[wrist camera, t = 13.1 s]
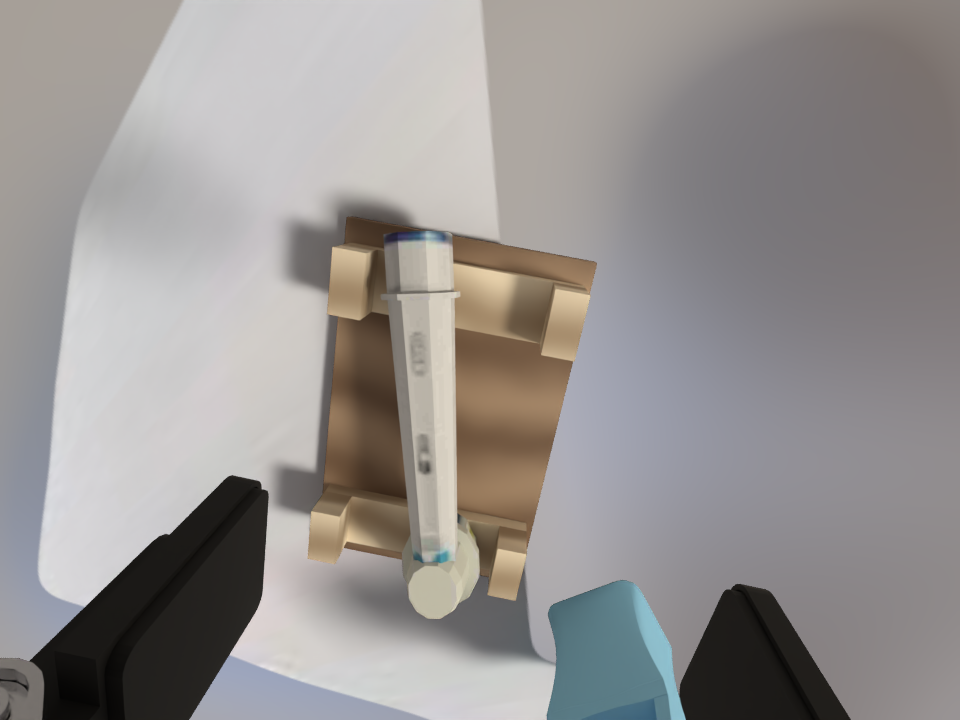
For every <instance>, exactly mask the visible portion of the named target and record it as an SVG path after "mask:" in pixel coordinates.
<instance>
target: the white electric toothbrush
mask: <svg viewBox="0 0 960 720" xmlns="http://www.w3.org/2000/svg"><path fill="white" fill-rule="evenodd" d="M383 235H384V252H385V268H386V285H387V293H386V294H381V300H387V301H388V311H389V321H390V331H391V341H392V351H393V361H394V371H395V381H396V391H397V401H398V411H399V421H400V431H401V441H402V451H403V461H404V471H405V481H406V491H407V501H408V511H409V521H410V531H411V534H410V536H409V539H408V541H407V543H406V545H405V547H404V550H403V552H402V564H403V576H404V578H405V580H406V582H407V592H408V597H409V600H410V601H411V603H412V605H413V607H414V608H415V610H416V612H418V613H420V614H421V615H423V616H424V617H426V618H427V619H441V618H442V617H444V616H446V615H447V614H449V613H451V612H452V611H453V610H455V609H456V607H457V605H458V604H459V603H460V602H462V601H464V600H465V599H467V598H468V597H470V595H471V593H472V591H473V589H474V586H475V584H476V582H477V580H478V578H479V573H480V566H479V549H478V547H477V536H475V535H474V534H473V532H472V530H471V528H470V526H469V524H468V523H467V521H468V520H467V519H466V518H464V517H463V516H461V515H460V514H458V513H457V456H456V376H455V298H458V297H460V291H454V270H453V244H452V234H451V233H449V232H440V231H410V232H395V233H389V234H383Z"/></svg>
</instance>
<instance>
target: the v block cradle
mask: <svg viewBox="0 0 960 720" xmlns="http://www.w3.org/2000/svg"><path fill="white" fill-rule="evenodd" d="M410 231H427V230H421V229H416V228H411V227H405V226H400V225H394V224H389V223H384V222H378V221H373V220H368V219H362V218H357V217H347V220H346V231H345V243H344V244H343V245H339V246H335V247H332V259H331V272H330V284H329V297H328V309H327V314H329V315H334V316H338V323H337V334H336V346H335V357H334V369H333V380H332V392H331V403H330V415H329V426H328V438H327V449H326V461H325V472H324V484H323V495H322V496H321V498H320V499H319V501H318V502H317V504H316V505H315V507H314V508H313V509H312V511H311V522H310V534H309V547H308V559H312V560H317V561H322V562H327V563H332V564H335V563H336V561H337V559H338V557H339V556H340V554H341V552H342V550H343V548H347V549H352V550H357V551H362V552H367V553H372V554H377V555H382V556H387V557H392V558H397V559H402V552H403V550H404V547H405V545H406V543H407V541H408V539H409V536H410V534H411V531H410V521H409V511H408V501H407V491H406V481H405V471H404V461H403V451H402V441H401V431H400V421H399V411H398V401H397V391H396V381H395V371H394V361H393V351H392V341H391V331H390V321H389V311H388V301H387V300H381V294H386V293H387V285H386V268H385V252H384V235H383V234H389V233H395V232H410ZM452 244H453V270H454V291H460V297H458V298H455V376H456V456H457V513H458V514H460V515H461V516H463V517H464V518H466V519H467V520H468V521H467V523H468V524H469V526H470V528H471V530H472V532H473V534H474V535H475V536H477V547H478V549H479V566H480V573H479V575H481V576H486V577H489V583H488V594H487V595H489V596H494V597H499V598H504V599H509V600H514V601H515V600H516V596H517V592H518V588H519V584H520V580H521V576H522V572H523V568H524V564H525V560H526V556H527V547H528V543H529V538H530V534H531V531H532V526H533V522H534V518H535V514H536V510H537V506H538V502H539V498H540V494H541V490H542V486H543V482H544V477H545V473H546V469H547V465H548V461H549V457H550V453H551V449H552V445H553V441H554V437H555V433H556V429H557V425H558V421H559V416H560V412H561V408H562V404H563V400H564V396H565V392H566V388H567V384H568V380H569V376H570V372H571V368H572V364H573V361H575V357H576V353H577V349H578V345H579V341H580V337H581V333H582V328H583V324H584V320H585V316H586V312H587V308H588V304H589V299H590V290H591V286H592V282H593V278H594V274H595V270H596V265H597V263H596V262H594V261H588V260H583V259H577V258H572V257H567V256H561V255H556V254H550V253H545V252H540V251H534V250H528V249H524V248H518V247H513V246H507V245H502V244H497V243H491V242H486V241H481V240H475V239H470V238H464V237H459V236H454V235H452Z"/></svg>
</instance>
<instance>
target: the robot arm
mask: <svg viewBox="0 0 960 720" xmlns="http://www.w3.org/2000/svg"><path fill="white" fill-rule="evenodd" d="M268 498H269V496H268V491H266V490H262V488H261V483H260V482H259V481H256V480H251V479H247V478H242V477H237V476H233V475H232V476H229V477H227V478H226V479H225V480H224V481H223V482H222V483H221V484H220V485H219V486H218V487H217V488H216V489H215V490H214V491H213V492H212V493H211V494H210V495H209V496H208V497H207V498H206V499H205V500H204V501H203V502H202V503H201V504H200V505H199V506H198V507H197V508H196V509H195V510H194V511H193V512H192V513H191V514H190V515H189V516H188V517H187V518H186V519H185V520H184V521H183V522H182V523H181V524H180V525H179V526H178V527H177V528H176V529H175V530H174V531H173V532H172V533H171V534H170V535H168V534H164V535H162V536H159V537H158V538H157V539H155V540H154V541H153V542H152V543H151V544H149V545H148V546H147V547H146V548H145V549H144V550H143V551H142V552H141V553H140V554H139V555H138V556H137V557H136V558H135V559H134V560H133V561H132V562H131V563H130V564H129V565H128V566H127V567H126V568H125V569H124V570H123V571H122V572H121V573H120V574H119V575H118V576H117V577H116V578H114V579H113V580H112V581H111V582H110V583H109V584H108V585H107V586H106V587H105V588H104V589H103V590H102V591H101V592H100V593H99V594H98V595H97V596H96V597H95V598H94V599H93V600H92V601H91V602H90V603H89V604H88V605H87V606H86V607H85V608H84V609H83V610H82V611H80V613H78V614H77V615H76V616H75V617H74V618H73V619H72V620H71V621H70V622H69V623H68V624H67V625H66V626H65V627H64V628H63V629H62V630H61V631H60V632H59V633H58V634H57V635H56V636H55V637H54V638H53V639H52V640H51V641H50V642H49V643H48V644H47V645H46V646H44V647H43V648H42V649H41V650H40V652H38V653H37V654H36V655H35V656H34V657H33V658H32V659H31V660H30V661H26V660H23V659H20V658H0V720H189V719H190V718H191V716H192V714H193V713H194V711H195V709H196V708H197V706H198V705H199V703H200V701H201V700H202V698H203V696H204V695H205V693H206V692H207V690H208V688H209V687H210V685H211V684H212V682H213V680H214V679H215V677H216V675H217V674H218V672H219V671H220V669H221V667H222V666H223V664H224V662H225V661H226V659H227V658H228V656H229V654H230V653H231V651H232V650H233V648H234V646H235V645H236V643H237V641H238V640H239V638H240V637H241V635H242V633H243V632H244V630H245V628H246V627H247V625H248V624H249V622H250V620H251V619H252V617H253V615H254V614H255V612H256V610H257V608H258V606H259V603H260V600H261V597H262V591H263V576H264V560H265V545H266V529H267V513H268ZM680 702H681V706H682V709H683V712H684V715H685V718H686V720H851V719H850V718H849V716H848V715H847V713H846V711H845V710H844V708H843V706H842V705H841V703H840V702H839V700H838V699H837V697H836V695H835V694H834V692H833V690H832V689H831V687H830V686H829V684H828V683H827V681H826V679H825V678H824V676H823V674H822V673H821V672H820V670H819V668H818V667H817V665H816V663H815V662H814V660H813V658H812V657H811V655H810V654H809V652H808V650H807V649H806V647H805V646H804V644H803V642H802V641H801V639H800V637H799V636H798V634H797V633H796V631H795V629H794V628H793V626H792V625H791V623H790V621H789V620H788V618H787V617H786V616H785V614H784V612H783V610H782V609H781V607H780V605H779V604H778V602H777V601H776V599H775V597H774V596H773V595H772V593H771V592H769V591H768V590H766V589H761V588H756V587H752V586H747V585H742V584H736V585H735V586H733V587H732V589H731V590H725V591H724V592H723V594H722V596H721V598H720V600H719V602H718V605H717V607H716V609H715V611H714V613H713V615H712V617H711V620H710V622H709V624H708V626H707V628H706V630H705V632H704V634H703V637H702V639H701V641H700V643H699V645H698V647H697V649H696V651H695V654H694V656H693V658H692V660H691V662H690V664H689V666H688V669H687V671H686V673H685V675H684V677H683V679H682V682H681V684H680Z"/></svg>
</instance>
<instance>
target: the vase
mask: <svg viewBox="0 0 960 720" xmlns="http://www.w3.org/2000/svg"><path fill="white" fill-rule="evenodd" d="M548 617H549V620H550V624H551V628H552V631H553V635H554V639H555V645H556V656H557V660H556V673H555V680H554V686H553V690H552V695H551V699H550V704H549V708H548V712H547V720H686V718H685V715H684V712H683V709H682V706H681V702H680V697H679V695H678V691H677V687H676V683H675V678H674V673H673V664H672V647H671V646H670V644H669V642H668V640H667V638H666V636H665V634H664V633H663V631H662V629H661V627H660V625H659V624H658V622H657V620H656V618H655V616H654V614H653V612H652V610H651V608H650V607H649V605H648V603H647V601H646V599H645V597H644V596H643V594H642V592H641V591H640V589H639V588H638V587H637V586H636V585H635V584H634V583H632V582H629V581H626V580H620V581H616V582H613V583H610V584H607V585H605V586H602V587H599V588H596V589H594V590H590V591H588V592H585V593H583V594H580V595H577V596H574V597H571V598H568V599H566V600H563V601H560V602H558V603H555V604H553V605H552V606H551V607H550V609H549V612H548Z"/></svg>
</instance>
